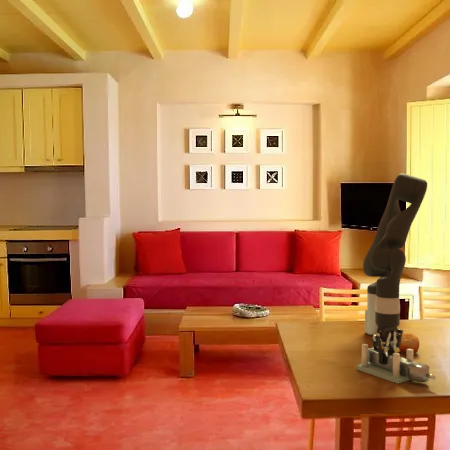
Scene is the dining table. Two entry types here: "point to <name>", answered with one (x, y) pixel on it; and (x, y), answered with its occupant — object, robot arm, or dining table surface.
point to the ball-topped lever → (403, 366)
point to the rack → (384, 372)
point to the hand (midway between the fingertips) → (386, 362)
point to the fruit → (409, 343)
